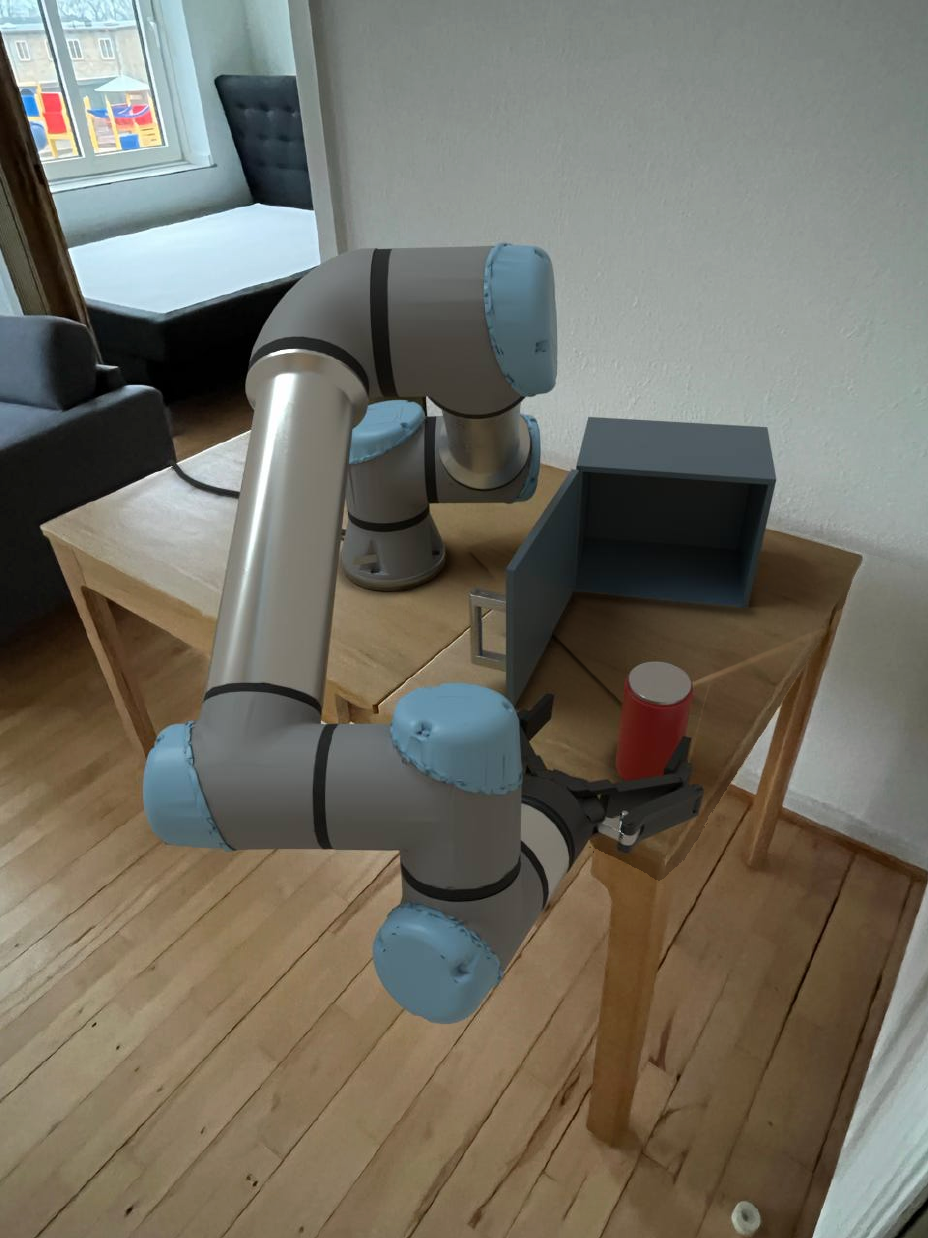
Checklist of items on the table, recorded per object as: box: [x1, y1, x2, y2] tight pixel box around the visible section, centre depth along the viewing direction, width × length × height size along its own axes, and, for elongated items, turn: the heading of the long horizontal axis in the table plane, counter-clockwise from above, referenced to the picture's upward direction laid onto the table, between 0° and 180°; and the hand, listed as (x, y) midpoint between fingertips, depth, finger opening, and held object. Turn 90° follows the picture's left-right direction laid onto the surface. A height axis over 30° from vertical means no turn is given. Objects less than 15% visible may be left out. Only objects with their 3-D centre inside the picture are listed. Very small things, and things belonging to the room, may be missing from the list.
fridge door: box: [468, 468, 579, 708], centre depth 98 cm, size 6×24×19 cm, turn 157°
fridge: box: [572, 416, 777, 609], centre depth 110 cm, size 15×24×20 cm, turn 77°
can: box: [615, 660, 695, 781], centre depth 83 cm, size 7×7×12 cm
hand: (614, 726), depth 78 cm, fingers open, 13 cm apart
